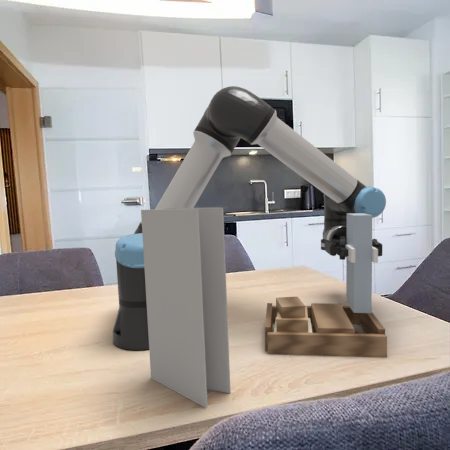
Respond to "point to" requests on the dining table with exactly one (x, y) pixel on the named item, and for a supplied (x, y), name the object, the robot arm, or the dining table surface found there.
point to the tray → (328, 333)
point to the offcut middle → (292, 324)
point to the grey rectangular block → (359, 263)
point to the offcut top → (290, 307)
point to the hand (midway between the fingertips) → (364, 255)
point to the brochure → (187, 300)
